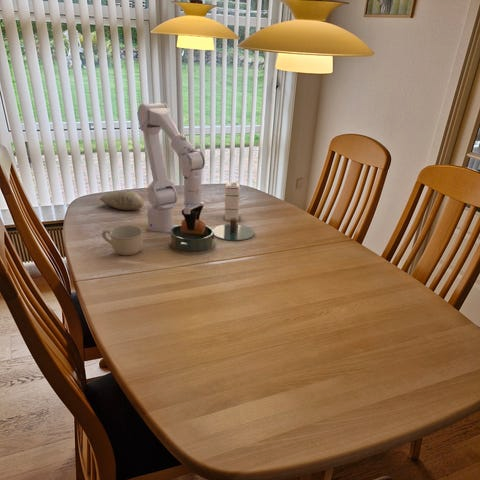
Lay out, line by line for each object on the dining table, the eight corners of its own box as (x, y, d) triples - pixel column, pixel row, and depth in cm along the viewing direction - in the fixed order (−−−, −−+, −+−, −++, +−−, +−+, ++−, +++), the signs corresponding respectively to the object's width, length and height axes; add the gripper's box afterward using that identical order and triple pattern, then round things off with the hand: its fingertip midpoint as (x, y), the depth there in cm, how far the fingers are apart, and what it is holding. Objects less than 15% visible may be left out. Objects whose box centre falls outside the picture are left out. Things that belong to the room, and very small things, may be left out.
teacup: (149, 249, 155) (148, 227, 150) (133, 261, 146) (131, 238, 142) (115, 242, 158) (112, 221, 154) (97, 254, 149) (94, 231, 145)
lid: (207, 239, 165) (207, 224, 161) (217, 225, 178) (217, 210, 175) (250, 244, 162) (251, 229, 159) (256, 229, 176) (257, 214, 173)
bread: (179, 231, 156) (179, 220, 154) (183, 227, 160) (183, 216, 158) (202, 234, 155) (202, 223, 153) (206, 229, 159) (206, 218, 156)
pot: (163, 254, 152) (162, 239, 149) (180, 233, 169) (180, 219, 166) (205, 259, 150) (205, 244, 147) (219, 237, 167) (219, 223, 164)
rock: (132, 214, 181) (98, 207, 190) (151, 209, 190) (117, 202, 199) (131, 196, 178) (96, 189, 187) (150, 192, 186) (116, 185, 195)
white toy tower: (238, 221, 182) (240, 186, 175) (224, 220, 182) (225, 185, 175) (238, 216, 187) (240, 182, 180) (224, 216, 187) (225, 181, 179)
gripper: (198, 196, 143) (198, 236, 150) (209, 184, 155) (208, 221, 162) (177, 194, 144) (178, 233, 151) (189, 182, 156) (190, 219, 163)
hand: (192, 227), depth 157 cm, fingers closed on bread, 4 cm apart
